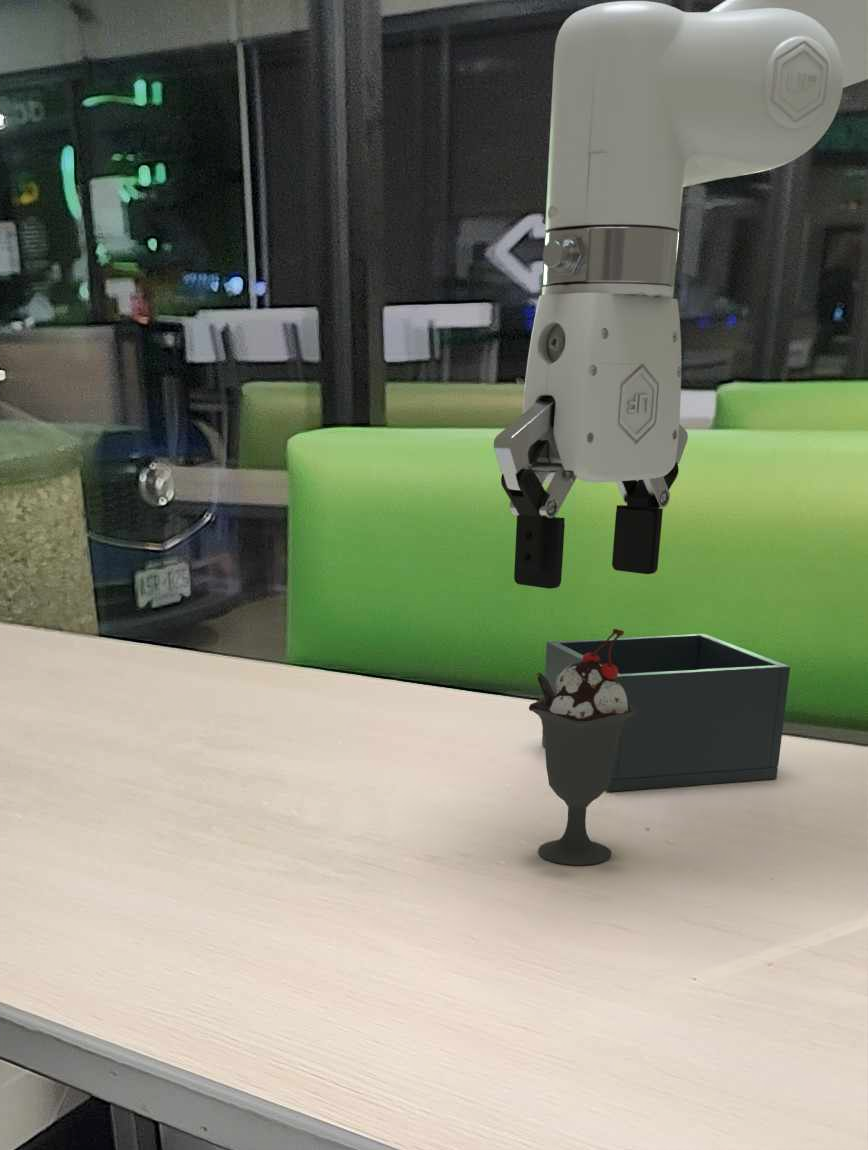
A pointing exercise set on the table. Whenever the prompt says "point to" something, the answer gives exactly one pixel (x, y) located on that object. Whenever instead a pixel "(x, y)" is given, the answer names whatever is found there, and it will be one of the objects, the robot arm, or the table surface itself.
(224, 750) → the table surface
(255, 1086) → the table surface
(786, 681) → the bin
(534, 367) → the robot arm
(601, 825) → the table surface
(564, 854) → the sundae
